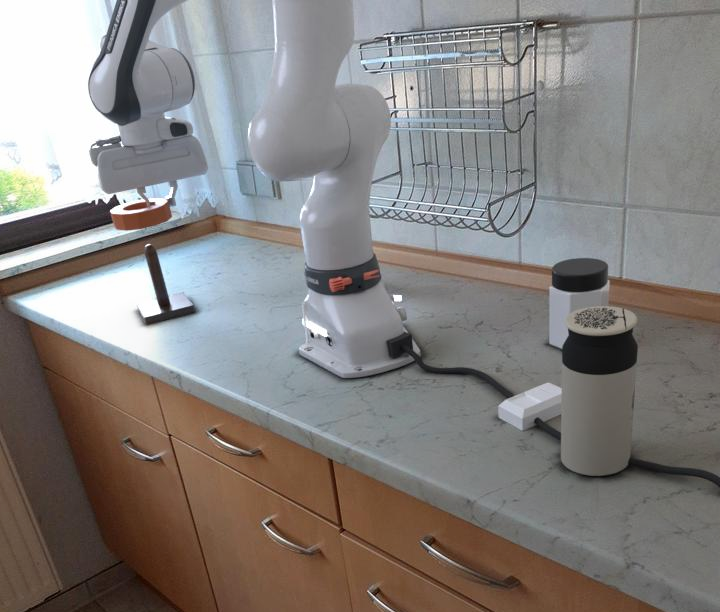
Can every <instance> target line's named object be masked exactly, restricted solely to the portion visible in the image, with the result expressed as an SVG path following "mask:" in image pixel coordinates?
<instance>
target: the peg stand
mask: <svg viewBox="0 0 720 612" xmlns="http://www.w3.org/2000/svg"><path fill="white" fill-rule="evenodd" d="M143 253H144V257H145V261H146V263H147V269H148V271H149V276H150V279H151V283H152V287H153V290H154V294H155V297H156V298H154V299H149V300H145V301H141V302H136V307H137V311H138V312H139V314H140V316H141V318H142V319H143V322H144V323H145V325H151V324H154V323H159V322H162V321H166V320H169V319H174V318H178V317H182V316H186V315H190V314H194V313H196V309H195V306H194V303H192V302H191V300H190V298H189V297H188V296H187V294H186V293H185V292H184V291H182V292H177V293H173V294H170V295H169V292H168V289H167V284H166V281H165V277H164V274H163V270H162V266H161V262H160V258H159V255H158V251H157V248H156V246H155V245H153V244H151V243H148V244H146V245H145V246H144V248H143Z"/></svg>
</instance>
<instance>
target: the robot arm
mask: <svg viewBox="0 0 720 612" xmlns="http://www.w3.org/2000/svg"><path fill="white" fill-rule="evenodd" d="M187 1H188V0H116V1H115V6H114V7H113V11H112V14H111V17H110V20H109V24H108V28H107V30H106V34H105V35H103V36H102V37H101V38H100V40H99V43H98V49H99V53H98V55H97V56H96V58H95V60H94V61H93V64H92V65H91V68H90V71H89V75H88V79H87V81H88V82H87V89H88V94H89V98H90V101H91V103H92V105H93V107H94V108H95V109H96V111H97V112H98V113H99V114H100V115H101V116H102V117H104V118H105V119H107V120H108V121H109V122H111V123H113V124H115V125H116V130H117V132H118V135H115V136H110V137H107V138H99V139H96V140H94V142H93V143H91V145H90V146H89V148H88V153H89V158H90V160H91V163H92V165H94V166H95V167H96V171H97V177H98V183H99V186H100V189H101V191H102V192H104V193H105V194H107V195H113V194H117V193H122V192H127V191H130V190H131V191H132V190H136V192H137V194H138V195H139V197H141V199H144V200H145V201H146V204H147V207H150V206H153V205H154V204H155V201H154V200H153V199H152V200H149V198H148V197H147V196H146V194H147V191H146V187H151V186H156V185H160V184H165V183H167V185H168V187H170V191H169V195H167V196H165V199H166V200H167V201H168V202H169V206H170V208H172V207H176V206H177V201H176V198H175V197H176V195H177V191H178V187H179V186H178V181H181V180H185V179H189V178H196V177H199V176H204V175H206V174H207V172H208V170H209V165H208V162H207V157H206V155H205V151H204V148H203V146H202V143H201V142H200V140H199V139H198V138H197V137H196V136H195V135H193V134H194V127H193V123H191V122H190V121H188V120H186V119H183V118H182V119H181V118H176V117H173V116H169V117H167V116H165V113H167V112H172V111H175V110H178V109H182V108H183V107H185V106H187V105H189V104H190V103H191V102H192V100H193V97H194V94H195V90H196V80H195V74H194V71H193V68H192V65H191V63H190V61H189V60H188V59H187V57H186V55H184V54H183V53H182V51H180V50H178V49H177V48H174V47H167V46H164V45H161V44H158V43H156V42H154V41H153V40H150V36H151V34H152V31H153V29H154V27H155V25H156V24H157V23H158V21H160V19H161V18H163V17H164V16H165V15H166V14H167V13H168V12H170V11H171V10H173V9H175V8H176V7H178V6H180V5H181V4H183V3H185V2H187ZM271 4H272V5H271V6H272V15H273V16H272V17H273V34H274V49H273V62H272V69H271V72H270V73H271V74H270V78H269V82H268V86H267V90H266V93H265V96H264V98H263V100H262V103H261V105H260V107H259V109H258V111H257V112H256V114H254V116H253V118H252V119H251V121H250V123H249V126H248V130H247V147H248V153H249V155H250V158H251V160H252V162H253V164H254V166H255V167H256V169H257V170H258V171H259V172H260V173H261V175H263V176H264V177H265V178H266V179H268V180H269V181H273V182H276V183H277V182H296V181H297V182H298V181H305V180H308V179H310V178H313V180H312V186H311V190H310V193H309V196H308V197H307V199H306V201H305V202H304V204H303V205H302V208H301V210H300V212H299V213H300V214H299V220H298V221H299V227H300V234H301V239H302V240H301V241H302V245H303V252H304V258H305V263H304V265H303V267H304V278H305V282H306V287H307V288H308V291H307V294H306V297H305V298H304V300H303V302H302V303H301V310H302V312H301V313H302V319H301V320H302V325H303V329H304V337H305V342H304V343H302V344H301V345H300V346H299V347H298V354H299V355H300V356H301V357H303V358H305V359H307V360H309V361H311V362H313V363H314V364H316V365H318V366H319V367H321V368H323V369H325V370H327V371H329V372H330V373H332V374H334V375H337V376H338V377H340V378H342V379H355V378H363V377H369V376H374V375H377V374H381V373H385V372H388V371H392V370H395V369H398V368H401V367H403V366H406V365H408V364H410V363H411V364H412V363H413V362H416V364H417V366H418V367H419V368H420V369H422V370H423V371H426V372H428V373H431V374H440V375H448V374H468V375H471V376H474V377H477V378H480V379H482V380H483V381H485V382H486V383H487V384H489V385H490V386H492V387H493V388H494V389H495V390H496V391H498V392H499V393H500V394H502V395H503V396H504V397H505V398H506V399H508V398H511V397H513V396H515V395H514V394H513V393H512V392H511V391H510V390H509V389H508V388H507V387H505V386H504V385H502V384H500V382H498V381H497V380H496V379H494V378H493V377H492V376H490V375H489V374H487V373H485V372H483V371H481V370H478V369H475V368H472V367H471V368H470V367H462V366H459V367H435V366H431V365H428V364H426V363H425V362H424V361H423V359H422V358H421V357H422V353H421V350H420V348H419V346H418V344H417V343H416V341H414V339H413V334H412V333H409V332H408V330H407V329H406V327H405V326H404V325H403V322H406V321H407V319H408V316H407V310H406V308H405V306H400V307H396V305H395V302H401V301H402V295H399V294H397V295H396V294H393V293H389V291H388V290H387V287H386V285H385V282H383V281H382V274H381V273H382V272H381V270H380V269H381V268H380V267H381V266H380V263H379V261H378V259H377V254H376V253H375V252H374V247H373V237H372V226H371V213H370V211H371V210H370V205H371V201H370V200H371V190H372V183H373V179H374V173H375V168H376V164H377V161H378V157H379V155H380V152H381V149H382V148H383V146H384V144H385V143H386V141H387V139H388V137H389V135H390V131H391V127H392V115H391V111H390V108H389V105H388V102H387V100H386V98H385V97H384V96H383V94H382V93H381V92H380V91H379V90H378V89H376V88H375V86H374V87H373V86H372V85H368V84H362V83H361V84H359V83H341V84H338V85H337V79H338V74H339V71H340V69H341V66H342V64H343V61H344V60H345V58H346V57H347V55H348V54H349V53H350V51H351V50H352V47H353V44H354V42H355V41H354V40H355V21H354V20H355V18H354V17H355V15H354V0H271ZM534 423H535V424H536V425H535V426H537V427H538V428H539V429H541V430H542V431H543V432H545V433H547V435H550V436H551V437H552V438H555V439H557V440H558V441H560V442H561V431H559V430H557V429H555V428H554V427H553V426H551V425H549V424H548V423H547V422H546V421H545V422H543V421H542V420H541V419H540V418H538V417H537V418H535V420H534ZM628 466H631V467H636V468H641V469H646V470H649V471H654V472H657V473H661V474H668V475H676V476H687V477H695V478H699V479H700V478H701V479H704V480H706V481H709V482H711V483H713V484H714V485H715V486H717V487H718V488H719V489H720V476H718V475H717V474H714V473H713V472H711V471H708V470H703V469H700V468H693V467H680V466H671V465H665V464H660V463H656V462H652V461H649V460H648V461H647V460H643V459H639V458H633V457H630V458H629V461H628Z"/></svg>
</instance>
